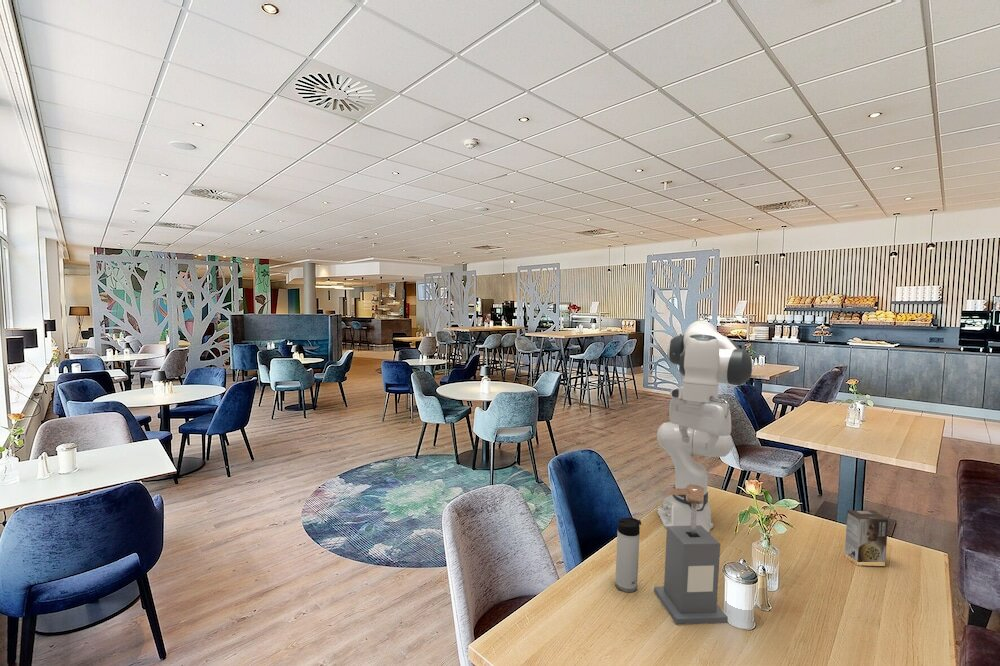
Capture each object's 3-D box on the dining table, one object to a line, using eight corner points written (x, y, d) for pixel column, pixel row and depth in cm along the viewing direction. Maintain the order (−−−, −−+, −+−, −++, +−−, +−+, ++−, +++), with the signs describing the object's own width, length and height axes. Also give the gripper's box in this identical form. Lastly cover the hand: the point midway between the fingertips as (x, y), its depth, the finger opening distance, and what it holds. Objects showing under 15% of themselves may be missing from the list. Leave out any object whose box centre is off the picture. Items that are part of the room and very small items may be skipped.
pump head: (662, 553, 131) (665, 484, 129) (695, 552, 132) (698, 484, 130) (669, 562, 126) (672, 491, 125) (703, 561, 127) (707, 490, 126)
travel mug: (639, 594, 135) (642, 526, 134) (615, 590, 136) (618, 523, 135) (637, 581, 141) (640, 516, 140) (614, 578, 143) (617, 514, 141)
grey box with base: (653, 591, 136) (657, 522, 135) (700, 590, 138) (703, 521, 136) (676, 624, 123) (680, 548, 121) (727, 622, 124) (731, 547, 122)
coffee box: (870, 556, 159) (874, 510, 158) (885, 567, 152) (889, 519, 151) (843, 555, 159) (846, 509, 158) (856, 566, 152) (860, 518, 151)
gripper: (739, 400, 117) (736, 455, 117) (684, 391, 137) (682, 438, 137) (718, 399, 116) (715, 455, 115) (666, 390, 135) (663, 438, 135)
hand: (697, 446), depth 126 cm, fingers open, 8 cm apart
